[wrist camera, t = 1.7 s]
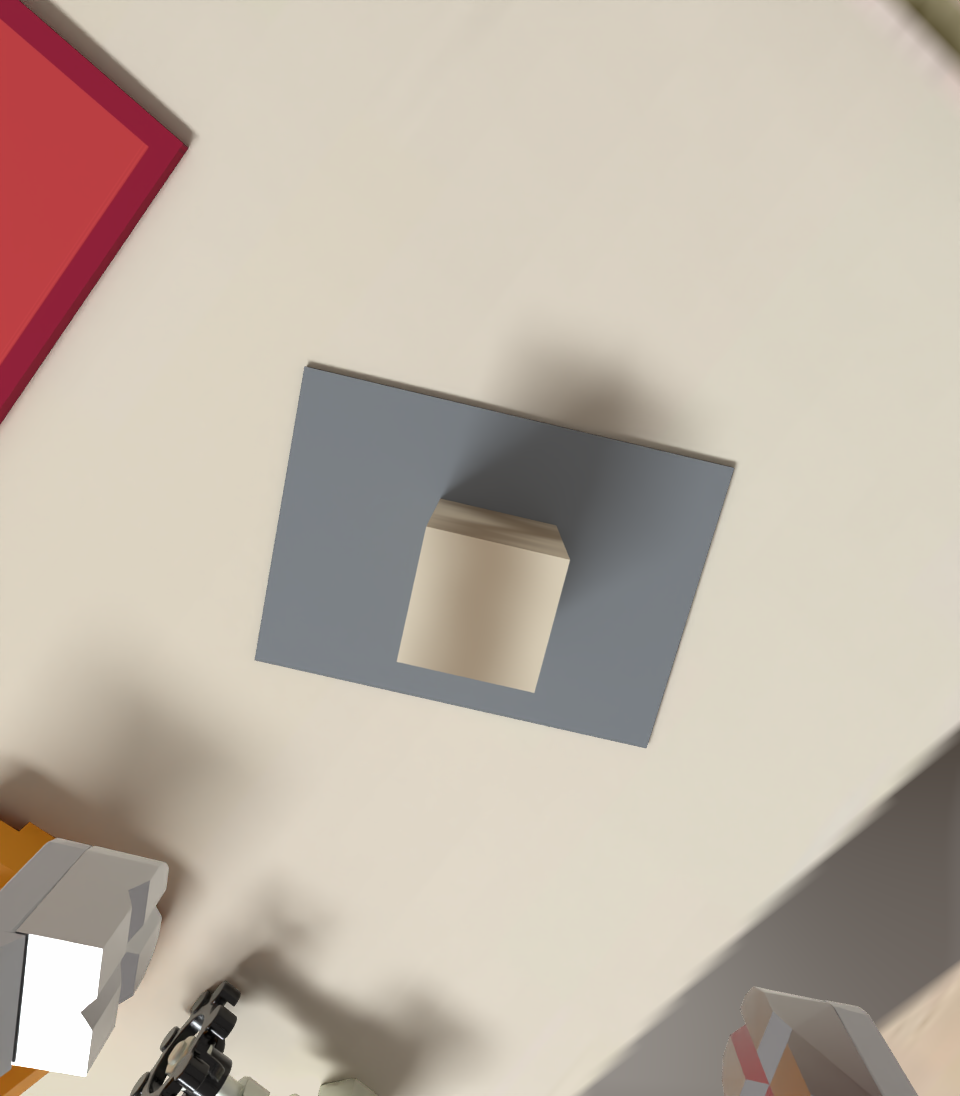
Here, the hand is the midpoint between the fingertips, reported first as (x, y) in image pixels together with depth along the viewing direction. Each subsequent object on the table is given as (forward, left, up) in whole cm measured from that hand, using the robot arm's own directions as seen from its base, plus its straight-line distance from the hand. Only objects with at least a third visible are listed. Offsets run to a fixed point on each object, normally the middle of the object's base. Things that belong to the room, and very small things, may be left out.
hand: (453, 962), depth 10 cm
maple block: (0, 0, -21) cm, 21 cm away
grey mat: (0, 0, -22) cm, 22 cm away
